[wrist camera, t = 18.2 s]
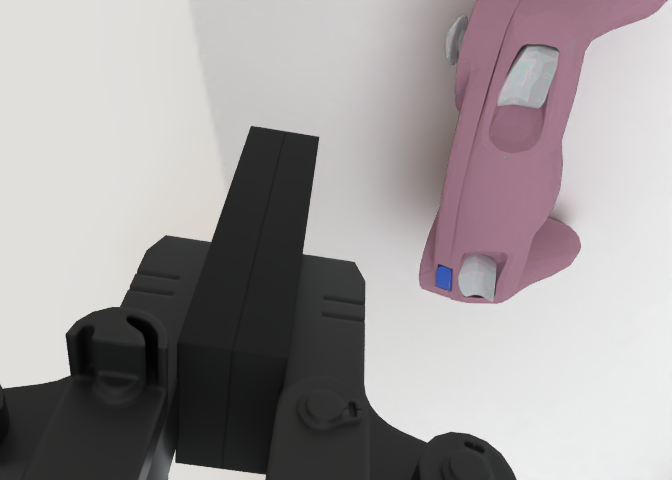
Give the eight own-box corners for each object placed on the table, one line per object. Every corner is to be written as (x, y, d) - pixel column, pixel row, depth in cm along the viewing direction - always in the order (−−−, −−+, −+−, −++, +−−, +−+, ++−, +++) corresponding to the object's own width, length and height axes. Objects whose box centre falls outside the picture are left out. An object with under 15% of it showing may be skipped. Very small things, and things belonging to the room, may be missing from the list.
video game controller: (516, -70, 19) (423, -22, 14) (684, -44, 17) (650, 22, 12) (458, 213, 24) (378, 320, 19) (580, 253, 23) (527, 381, 18)
